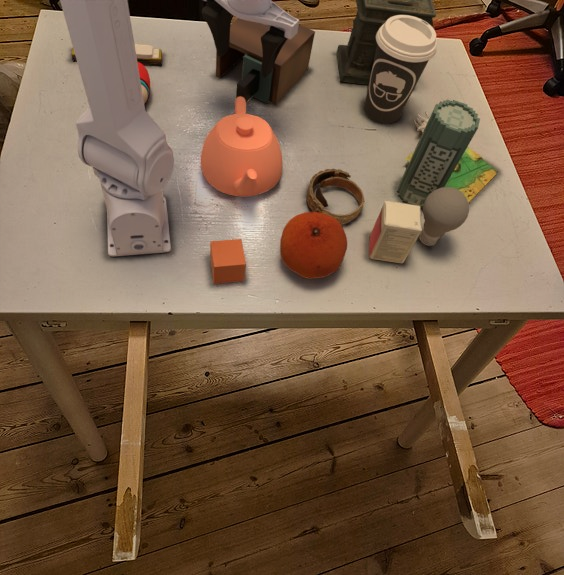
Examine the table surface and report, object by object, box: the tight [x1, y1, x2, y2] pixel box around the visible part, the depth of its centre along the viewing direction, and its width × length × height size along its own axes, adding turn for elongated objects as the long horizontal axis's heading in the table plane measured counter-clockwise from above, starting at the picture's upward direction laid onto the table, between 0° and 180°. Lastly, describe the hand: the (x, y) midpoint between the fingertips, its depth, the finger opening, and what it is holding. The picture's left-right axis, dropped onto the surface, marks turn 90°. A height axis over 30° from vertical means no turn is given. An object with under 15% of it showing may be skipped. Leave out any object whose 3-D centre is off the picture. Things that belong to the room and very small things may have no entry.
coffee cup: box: [363, 15, 438, 125], centre depth 84 cm, size 10×10×15 cm
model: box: [336, 0, 437, 86], centre depth 89 cm, size 14×9×15 cm, turn 93°
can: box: [397, 99, 481, 209], centre depth 74 cm, size 6×6×15 cm
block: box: [209, 238, 247, 285], centre depth 67 cm, size 4×4×4 cm
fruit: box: [279, 211, 348, 280], centre depth 68 cm, size 9×9×8 cm
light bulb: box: [419, 187, 470, 247], centre depth 71 cm, size 6×6×10 cm
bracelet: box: [306, 168, 365, 225], centre depth 76 cm, size 9×9×3 cm
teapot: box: [200, 96, 284, 198], centre depth 74 cm, size 12×18×10 cm
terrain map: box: [405, 146, 499, 204], centre depth 84 cm, size 12×12×1 cm
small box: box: [368, 200, 423, 264], centre depth 70 cm, size 5×4×8 cm
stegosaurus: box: [413, 111, 430, 134], centre depth 87 cm, size 2×7×5 cm
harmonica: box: [70, 43, 163, 66], centre depth 88 cm, size 15×3×2 cm, turn 95°
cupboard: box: [215, 18, 316, 106], centre depth 88 cm, size 12×12×8 cm
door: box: [235, 54, 273, 104], centre depth 83 cm, size 6×5×7 cm
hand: (244, 63), depth 77 cm, fingers open, 7 cm apart
